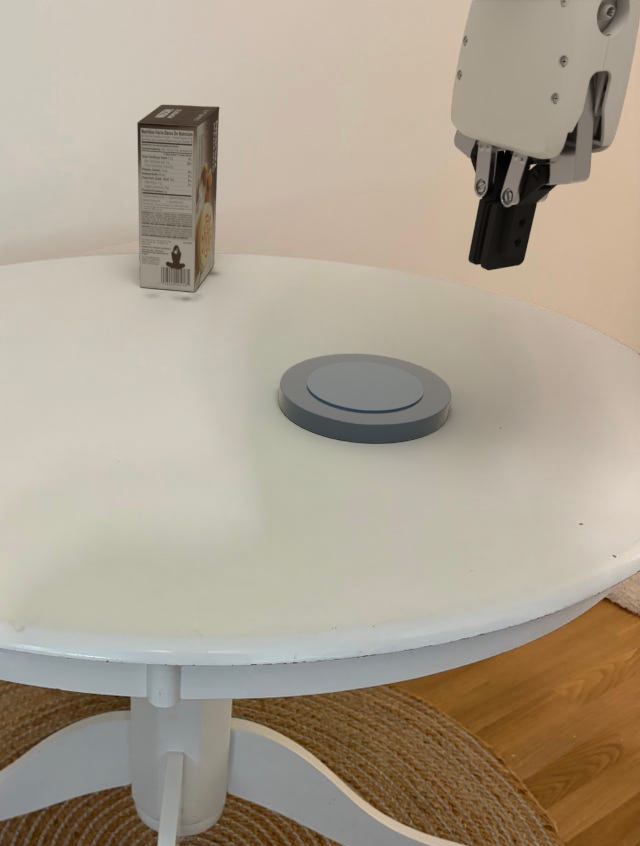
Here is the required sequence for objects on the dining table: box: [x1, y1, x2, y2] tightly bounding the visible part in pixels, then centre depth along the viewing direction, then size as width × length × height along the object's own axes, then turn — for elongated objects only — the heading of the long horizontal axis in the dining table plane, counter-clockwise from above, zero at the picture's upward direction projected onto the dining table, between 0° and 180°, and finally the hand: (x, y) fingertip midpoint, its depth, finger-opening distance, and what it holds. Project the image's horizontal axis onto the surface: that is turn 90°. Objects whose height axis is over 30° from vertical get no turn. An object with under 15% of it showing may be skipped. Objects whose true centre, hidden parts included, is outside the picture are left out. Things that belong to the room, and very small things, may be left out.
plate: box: [278, 353, 452, 444], centre depth 82 cm, size 14×14×2 cm
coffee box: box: [136, 104, 220, 293], centre depth 103 cm, size 9×6×16 cm
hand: (495, 263), depth 65 cm, fingers closed
